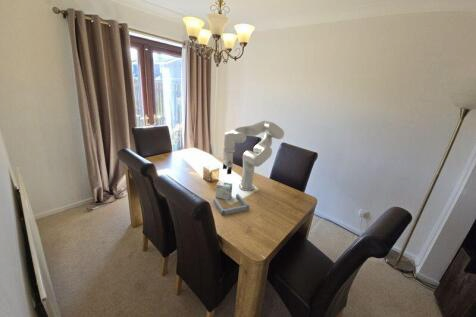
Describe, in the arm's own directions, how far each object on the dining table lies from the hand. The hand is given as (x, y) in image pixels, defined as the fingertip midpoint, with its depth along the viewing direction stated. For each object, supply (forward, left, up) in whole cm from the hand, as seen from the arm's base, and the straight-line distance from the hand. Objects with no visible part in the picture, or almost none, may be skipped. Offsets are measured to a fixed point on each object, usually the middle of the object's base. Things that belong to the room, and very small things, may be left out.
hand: (226, 171), depth 151 cm
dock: (+17, -3, -19) cm, 25 cm away
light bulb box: (+4, -3, -19) cm, 20 cm away
